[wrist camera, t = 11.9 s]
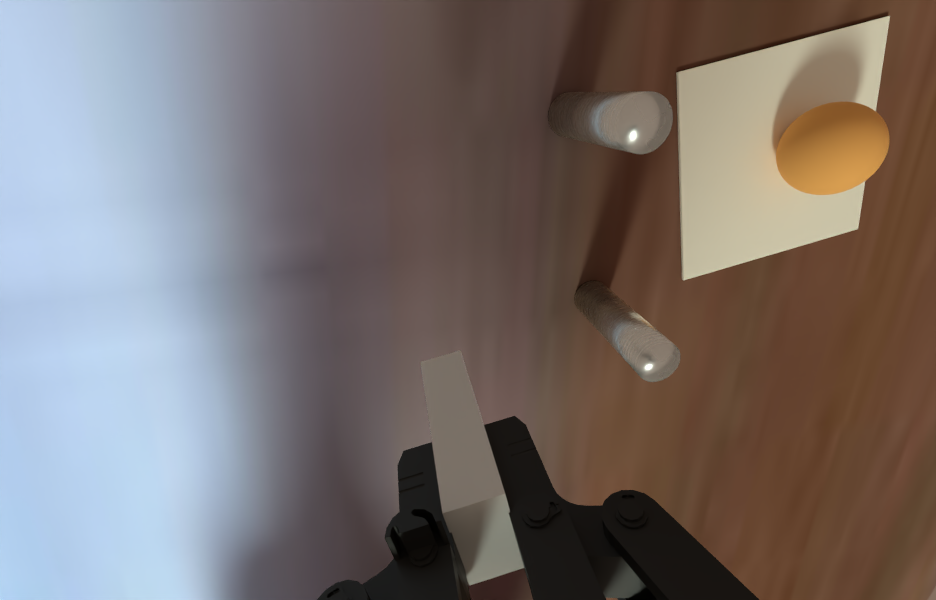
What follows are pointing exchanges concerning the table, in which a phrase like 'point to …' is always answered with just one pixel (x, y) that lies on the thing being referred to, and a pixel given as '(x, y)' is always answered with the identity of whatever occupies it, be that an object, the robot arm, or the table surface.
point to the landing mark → (765, 145)
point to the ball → (832, 148)
